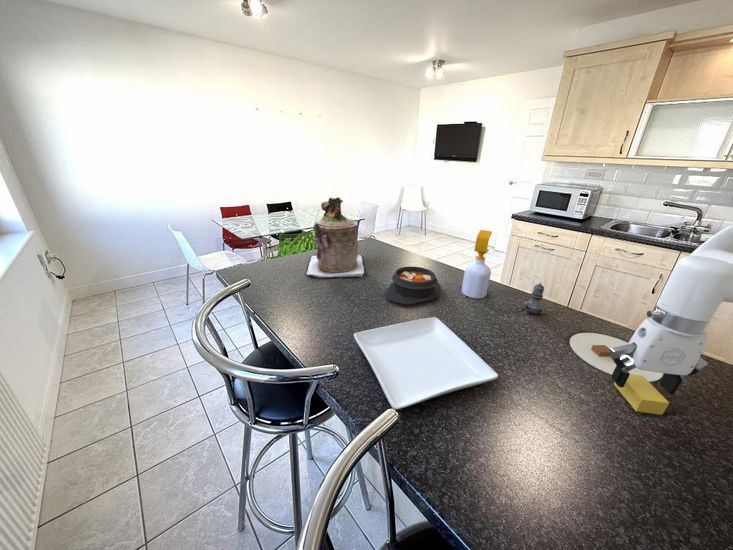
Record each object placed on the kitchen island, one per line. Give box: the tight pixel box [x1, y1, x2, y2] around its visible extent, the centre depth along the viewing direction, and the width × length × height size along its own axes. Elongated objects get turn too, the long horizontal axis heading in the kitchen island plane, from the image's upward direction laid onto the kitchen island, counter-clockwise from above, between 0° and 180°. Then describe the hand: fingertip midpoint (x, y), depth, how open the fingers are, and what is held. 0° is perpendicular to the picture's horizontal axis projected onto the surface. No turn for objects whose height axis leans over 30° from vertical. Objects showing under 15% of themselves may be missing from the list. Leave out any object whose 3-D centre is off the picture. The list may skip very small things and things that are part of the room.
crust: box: [591, 345, 611, 357], centre depth 79 cm, size 4×3×2 cm
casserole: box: [384, 265, 441, 305], centre depth 110 cm, size 25×19×8 cm
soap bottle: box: [461, 229, 493, 300], centre depth 108 cm, size 9×9×25 cm
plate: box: [569, 332, 664, 383], centre depth 79 cm, size 20×20×1 cm
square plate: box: [353, 316, 499, 410], centre depth 75 cm, size 27×27×4 cm
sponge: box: [613, 374, 670, 420], centre depth 65 cm, size 5×8×5 cm, turn 171°
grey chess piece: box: [522, 282, 545, 315], centre depth 97 cm, size 6×6×12 cm
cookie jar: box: [306, 196, 365, 279], centre depth 127 cm, size 25×25×32 cm
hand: (641, 386), depth 64 cm, fingers open, 9 cm apart
